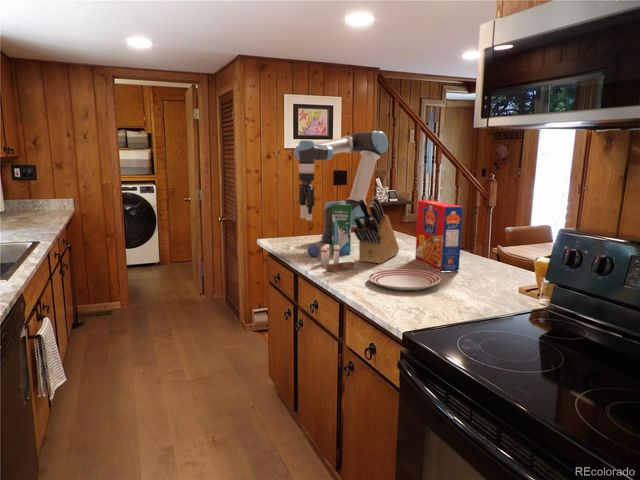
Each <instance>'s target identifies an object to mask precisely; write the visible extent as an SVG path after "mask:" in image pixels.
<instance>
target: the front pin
mask: <svg viewBox="0 0 640 480" xmlns="http://www.w3.org/2000/svg"><path fill="white" fill-rule="evenodd" d="M323 246H325V247H327V264H330V244H329V243H325V244H323Z"/></svg>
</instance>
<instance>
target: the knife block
mask: <svg viewBox="0 0 640 480" xmlns="http://www.w3.org/2000/svg"><path fill="white" fill-rule="evenodd" d="M365 202H366V201H365ZM365 202H364V201H363V200H360V201H359V205H360V208H361V210H362V211H363V213H364V216H360V217H359V218H358V217H357V216H354V217H353V219H354V220H355V223H356V226H357V227H356V228H352V233H354V235H355V237H356V238H357V240H358V241H359V245H358V247H359V248H358V249H359V252H358V253H359V257H358V259H359V262H362V263H366V262H367V263H375V264H376V263H377V264H378V265H379V264H382V263H384V262H385V261H387V260H388V259H390V258H393V257H394V256H396V255H398V254H399V251H400V247H399V244H398V241H397V237H396V235H395V231H394V230H393V227H392V224H391V221H390V219H389V218H390V217H389V216H388V214H385V213H384V209H383V207H382V204H381V201H380V200H379V198H378V197H377V196H372V197H371V201H370V202H369V203H370V204H368V207H367V206H366V204H367V203H366V204H365ZM368 208H369V209H370V212H369V209H368ZM367 209H368V210H367ZM360 219H363V222H362V223H361V221H360Z"/></svg>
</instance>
